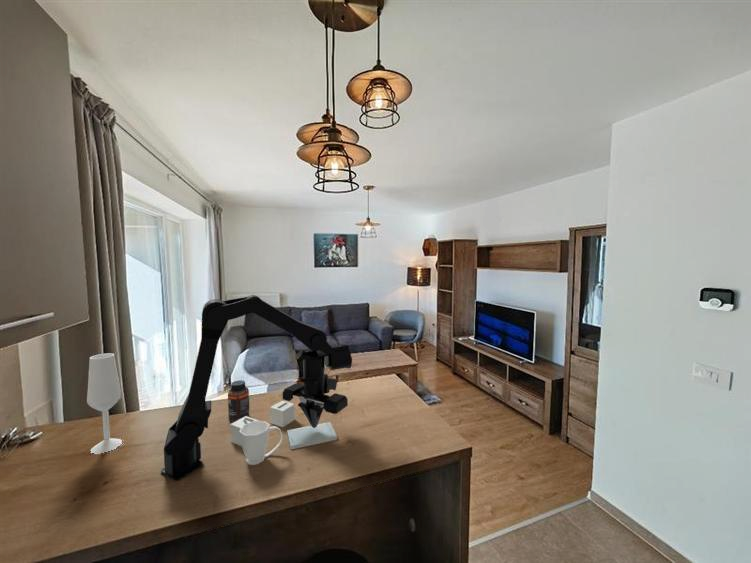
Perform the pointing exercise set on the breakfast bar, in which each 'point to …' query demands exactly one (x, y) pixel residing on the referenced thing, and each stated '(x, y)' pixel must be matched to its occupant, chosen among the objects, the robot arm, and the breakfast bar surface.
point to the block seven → (236, 428)
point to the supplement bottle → (238, 401)
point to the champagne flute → (103, 395)
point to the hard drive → (311, 435)
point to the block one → (282, 413)
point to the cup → (256, 441)
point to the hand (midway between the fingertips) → (314, 427)
